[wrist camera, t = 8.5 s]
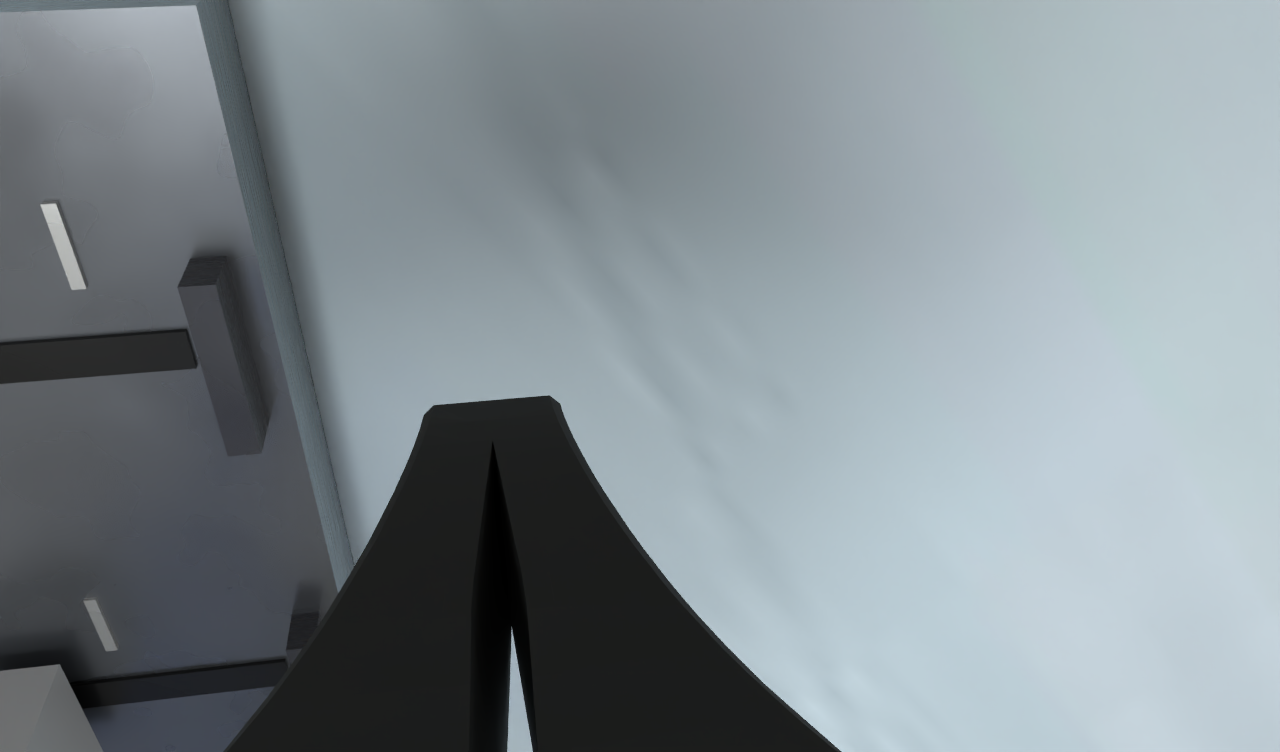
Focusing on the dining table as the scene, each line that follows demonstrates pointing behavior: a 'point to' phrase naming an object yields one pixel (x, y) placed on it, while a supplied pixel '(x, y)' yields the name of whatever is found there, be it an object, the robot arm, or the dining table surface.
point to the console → (151, 379)
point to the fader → (42, 713)
